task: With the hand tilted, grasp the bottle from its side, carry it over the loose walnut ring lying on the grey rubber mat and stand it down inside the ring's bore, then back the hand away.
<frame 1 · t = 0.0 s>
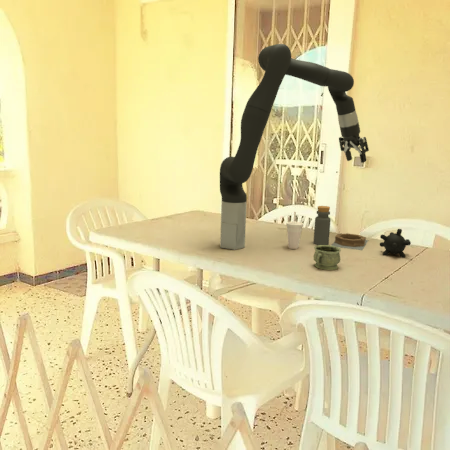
hand: (356, 161, 196), 31 cm above the table, tool tilted 20°, fingers open, 8 cm apart
bottle: (320, 245, 184), on the table
vessel: (326, 267, 156), on the table
ring: (350, 243, 187), resting on mat
smoothie: (293, 248, 178), on the table
mat: (349, 244, 187), on the table
toy ball: (393, 256, 171), on the table
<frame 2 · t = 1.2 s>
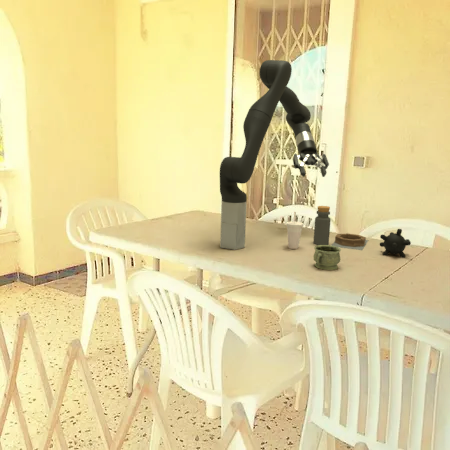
hand: (314, 175, 190), 26 cm above the table, tool tilted 45°, fingers open, 8 cm apart
nothing on the table moved.
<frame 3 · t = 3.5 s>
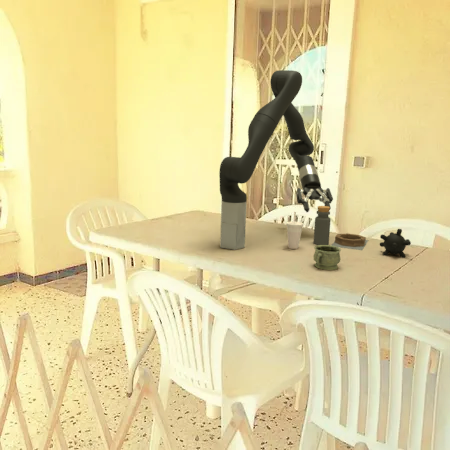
hand: (318, 211, 186), 12 cm above the table, tool tilted 45°, fingers open, 8 cm apart
nothing on the table moved.
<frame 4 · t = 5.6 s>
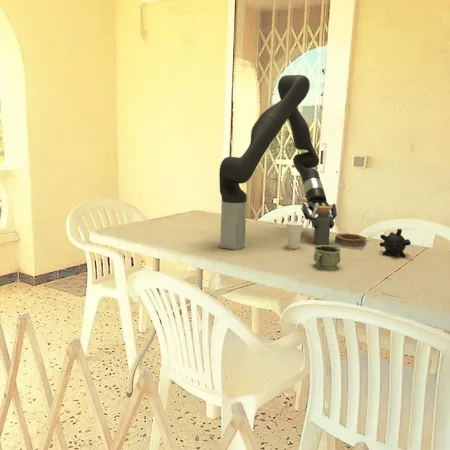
hand: (324, 227, 181), 7 cm above the table, tool tilted 45°, fingers closed on bottle, 6 cm apart
bottle: (320, 245, 184), on the table, touching gripper
everything else where it was.
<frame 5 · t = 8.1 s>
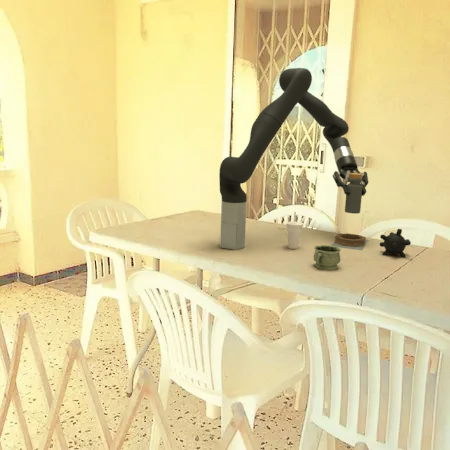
hand: (356, 194, 181), 20 cm above the table, tool tilted 45°, fingers closed on bottle, 6 cm apart
bottle: (352, 212, 184), point 13 cm above the table, touching gripper
everything else where it was.
when the fingers open (9 cm above the table, at t = 10.7 s): bottle stays where it is, resting on mat.
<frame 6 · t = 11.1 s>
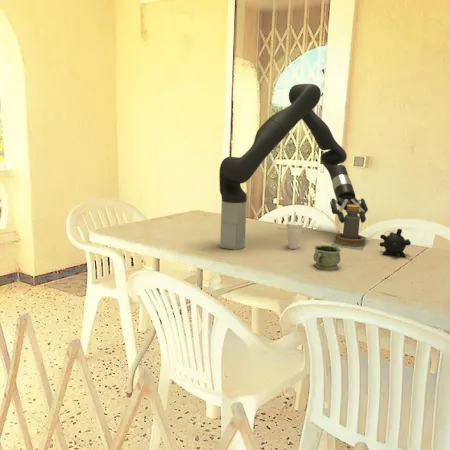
hand: (353, 221, 183), 9 cm above the table, tool tilted 45°, fingers open, 8 cm apart
bottle: (349, 243, 187), resting on mat
everything else where it was.
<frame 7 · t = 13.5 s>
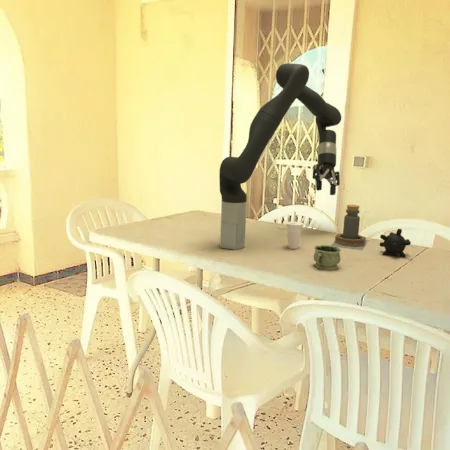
hand: (325, 192, 194), 19 cm above the table, tool tilted 25°, fingers open, 8 cm apart
nothing on the table moved.
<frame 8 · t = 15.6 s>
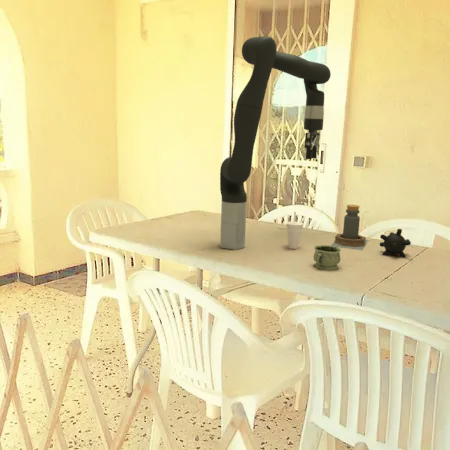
hand: (311, 158, 192), 32 cm above the table, tool pointing down, fingers open, 8 cm apart
nothing on the table moved.
at the end: bottle 0.2 cm from the ring (horizontally); bottle tilted 0°; bottle resting on mat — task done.
